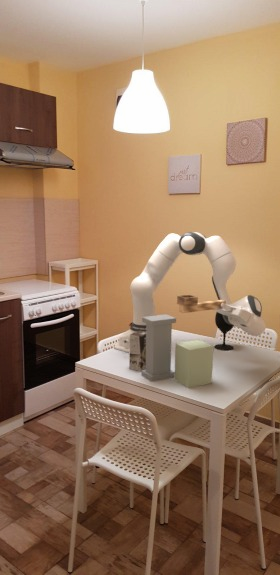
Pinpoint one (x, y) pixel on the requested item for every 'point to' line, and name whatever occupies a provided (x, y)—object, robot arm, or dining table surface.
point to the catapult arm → (196, 304)
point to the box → (193, 363)
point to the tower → (158, 347)
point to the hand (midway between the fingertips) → (217, 303)
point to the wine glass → (224, 328)
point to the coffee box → (137, 350)
